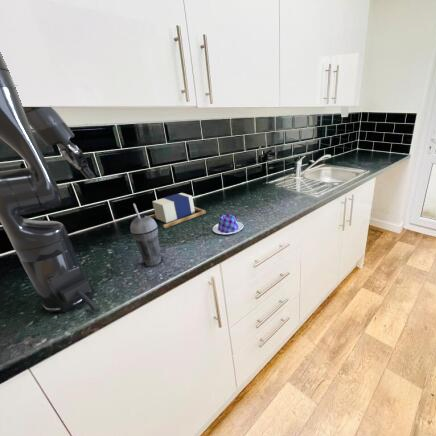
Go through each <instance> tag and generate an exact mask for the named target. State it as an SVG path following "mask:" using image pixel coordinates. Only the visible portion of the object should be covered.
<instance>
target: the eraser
mask: <svg viewBox="0 0 436 436" xmlns="http://www.w3.org/2000/svg"><path fill="white" fill-rule="evenodd" d="M151 203H152V207H153V210H154V214H155V215H156V217H155V219H156V220H159V221H160V222H163V223H165V224H167V223H170V222H173V221H176V220H179V219H181V218H184V217H187V216H190V215H193V214H195V213H196V210H195V209H194V207H195V204H194V198H193V195H190V194H187V193H184V192H180V193H175V194H171V195H167V196H165V197H163V198H162V197H161V198H159V199H156V200H152V202H151Z"/></svg>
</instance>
